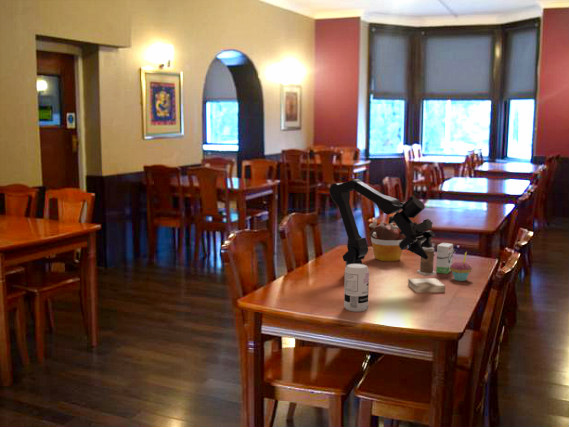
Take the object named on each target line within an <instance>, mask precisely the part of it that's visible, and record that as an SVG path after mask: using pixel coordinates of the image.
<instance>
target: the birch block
mask: <svg viewBox="0 0 569 427" xmlns="http://www.w3.org/2000/svg"><path fill="white" fill-rule="evenodd" d="M407 281H408V282H407V285H408V286H409V288H411V289H412V290H413V291H414V292H415V293H446V292H445V291H446V285H445V284H444V283H443V282H441V280H439V279H438V278H433V277H432V278H430V277H429V278H427V277H425V278H408V279H407Z"/></svg>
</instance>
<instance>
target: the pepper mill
mask: <svg viewBox="0 0 569 427" xmlns="http://www.w3.org/2000/svg"><path fill="white" fill-rule="evenodd" d="M422 248H423V250H424V251H425V253H426V254H427V256H428V258H427V259H424V258H422V257H421V256H420V267H419V269H417V270H416V273H417V274H420V275H422V276H425V277H428V276H436V275H437V273H436V270H434V257H435V256H434V255H435V253H434V252H435V248H434V247H433V246H431V247H422Z"/></svg>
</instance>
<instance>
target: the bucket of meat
mask: <svg viewBox="0 0 569 427" xmlns="http://www.w3.org/2000/svg"><path fill="white" fill-rule="evenodd" d="M368 224H369V223H368ZM377 224H378V221H377V220H374V221H373V222H372V223H370V224H369V225H368V227H369V228H372V229H371V230H370V231H369V234H370V241H371V245H372V251H373V255H374V256H373V257H374V258H375V259H376V260H378V261H380V262H386V263H388V262H391V263H392V262H393V263H394V262H398V261H400V259H401V257H402V252H403V250H401V249H400V247H399V243H400V242H401V241H402V240H403V239H404V238H405V236H404V234H402V235H401V234H400V232H401V230H400V229H399V228H398V226H397V225H394V223H391V224H389V223H387V222H383V221H381V222H379V224H378V225H377Z"/></svg>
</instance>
